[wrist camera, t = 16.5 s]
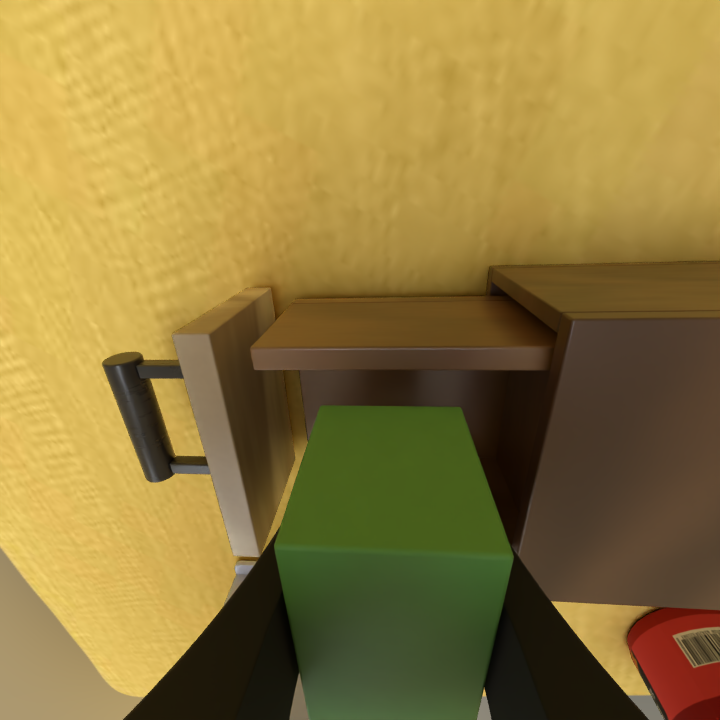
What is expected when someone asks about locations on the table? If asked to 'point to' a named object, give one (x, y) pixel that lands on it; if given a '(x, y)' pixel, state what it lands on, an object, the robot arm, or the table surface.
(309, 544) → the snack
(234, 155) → the table surface
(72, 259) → the table surface
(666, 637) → the canned food
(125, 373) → the drawer
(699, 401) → the cabinet
